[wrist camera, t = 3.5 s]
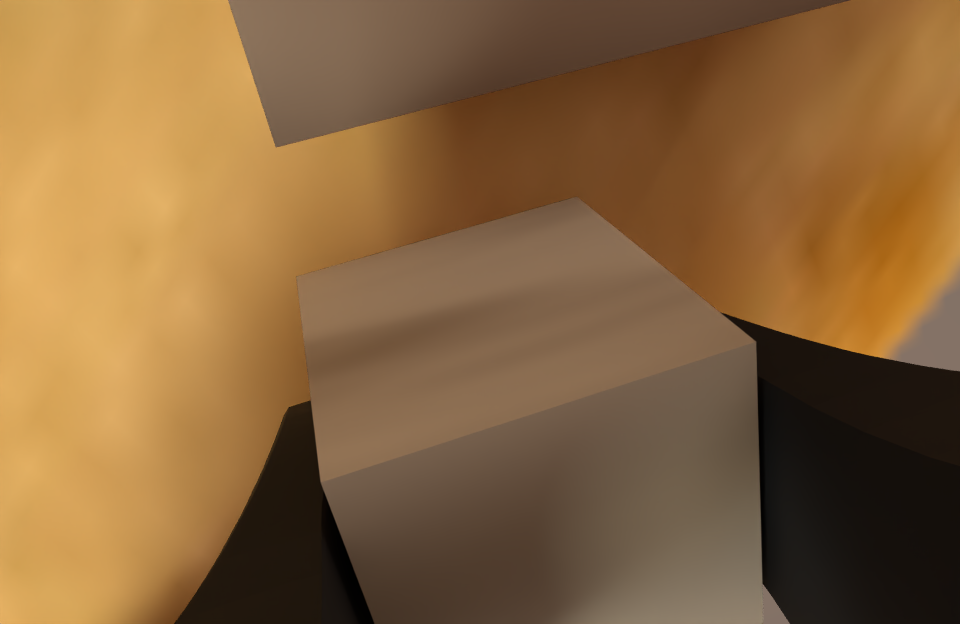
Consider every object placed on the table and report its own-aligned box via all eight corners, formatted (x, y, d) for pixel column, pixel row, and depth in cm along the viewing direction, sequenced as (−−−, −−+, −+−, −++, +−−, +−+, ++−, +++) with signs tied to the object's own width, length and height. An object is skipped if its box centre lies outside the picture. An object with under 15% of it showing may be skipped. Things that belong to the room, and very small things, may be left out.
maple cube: (609, 422, 14) (764, 636, 10) (373, 500, 14) (427, 764, 9) (576, 196, 12) (755, 341, 8) (296, 277, 12) (320, 483, 7)
